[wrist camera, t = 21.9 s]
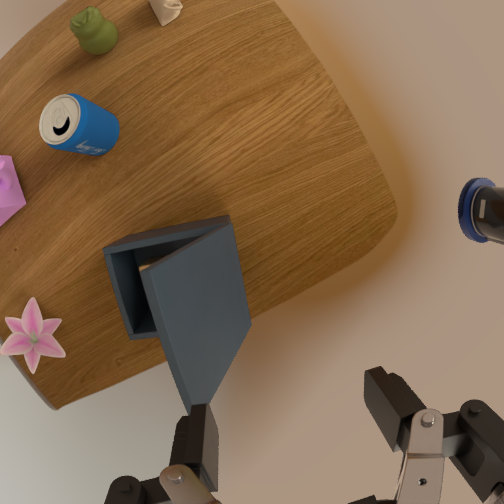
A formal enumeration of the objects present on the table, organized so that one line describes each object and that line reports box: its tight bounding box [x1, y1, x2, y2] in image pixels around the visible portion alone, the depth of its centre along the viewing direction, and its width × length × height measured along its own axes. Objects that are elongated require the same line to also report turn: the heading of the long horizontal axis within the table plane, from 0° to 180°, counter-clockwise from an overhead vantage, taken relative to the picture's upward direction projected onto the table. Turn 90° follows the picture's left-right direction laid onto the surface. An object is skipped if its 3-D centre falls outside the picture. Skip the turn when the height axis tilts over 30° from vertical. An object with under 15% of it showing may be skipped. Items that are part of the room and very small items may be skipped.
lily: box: [0, 297, 66, 374], centre depth 38 cm, size 12×12×10 cm
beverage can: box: [39, 94, 120, 156], centre depth 30 cm, size 6×6×12 cm
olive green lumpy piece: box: [70, 6, 118, 55], centre depth 28 cm, size 6×5×10 cm
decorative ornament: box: [149, 0, 183, 26], centre depth 30 cm, size 4×8×5 cm, turn 23°
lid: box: [140, 223, 251, 416], centre depth 25 cm, size 15×12×1 cm
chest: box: [103, 215, 231, 340], centre depth 37 cm, size 15×12×9 cm
